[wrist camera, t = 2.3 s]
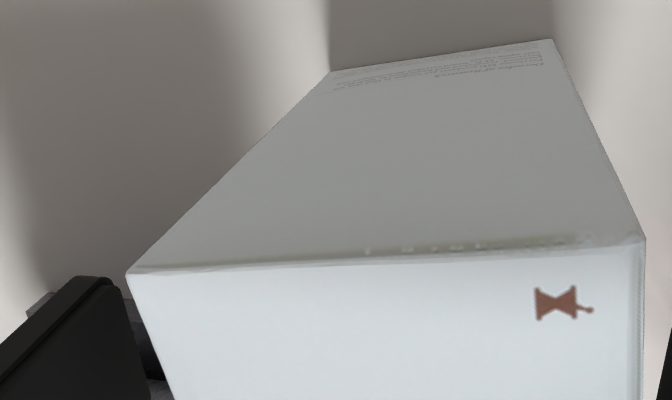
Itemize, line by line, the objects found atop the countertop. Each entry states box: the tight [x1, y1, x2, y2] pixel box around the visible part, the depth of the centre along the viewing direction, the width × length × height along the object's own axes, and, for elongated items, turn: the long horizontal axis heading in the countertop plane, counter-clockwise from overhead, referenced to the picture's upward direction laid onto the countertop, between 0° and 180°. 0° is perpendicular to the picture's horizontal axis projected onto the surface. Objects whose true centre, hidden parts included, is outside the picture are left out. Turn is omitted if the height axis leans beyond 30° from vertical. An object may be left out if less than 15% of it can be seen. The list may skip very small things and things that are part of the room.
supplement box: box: [125, 39, 646, 400], centre depth 14 cm, size 7×7×13 cm
